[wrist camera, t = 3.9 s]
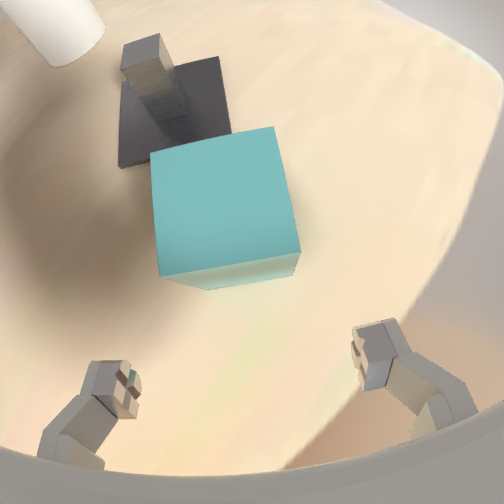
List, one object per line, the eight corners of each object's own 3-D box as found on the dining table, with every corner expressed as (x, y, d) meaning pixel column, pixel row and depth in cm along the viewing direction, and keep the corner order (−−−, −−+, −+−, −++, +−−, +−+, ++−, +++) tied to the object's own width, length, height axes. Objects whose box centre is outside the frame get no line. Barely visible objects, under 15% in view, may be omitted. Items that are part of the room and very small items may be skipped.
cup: (77, 20, 28) (24, -58, 13) (118, 19, 27) (66, -78, 11) (38, 66, 27) (-30, -10, 12) (76, 68, 26) (1, -27, 10)
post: (121, 168, 23) (72, 123, 16) (124, 85, 25) (90, 35, 18) (233, 141, 23) (215, 79, 15) (219, 59, 24) (203, -2, 17)
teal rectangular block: (207, 290, 21) (159, 276, 12) (196, 209, 22) (150, 153, 13) (292, 275, 21) (301, 252, 12) (276, 194, 22) (273, 126, 13)
